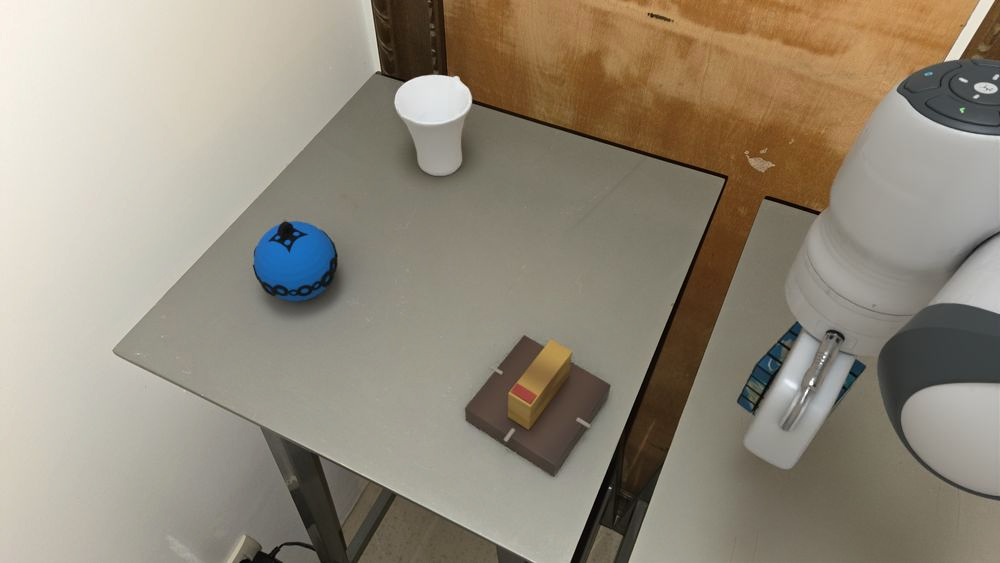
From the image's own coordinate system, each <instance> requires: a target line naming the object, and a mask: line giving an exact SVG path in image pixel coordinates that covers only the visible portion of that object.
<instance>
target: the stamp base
mask: <svg viewBox="0 0 1000 563" xmlns="http://www.w3.org/2000/svg"><path fill="white" fill-rule="evenodd" d="M544 347H545V345H543V344H541V343H539V342H538V341H536V340H534V339H532V338H530V337H528V336H527V335H525V334H523V336H522V337H521V338H520V339H519V340H518V341H517V343H515V345H514V347H513V348H512V349H511V350H510V352H509V353H508V354H507V355H506V357H505V358H504V359H503V360H502V362H500V364H499V365H498V366H497V367H496V366H494V365H492V364H491V365H490V366H489V369H490V370H491V371H493V373H492V374H491V375H490V376H489V378H488V379H487V380H486V381H485V383H484V384H483V385H482V386H481V388H479V390H478V391H477V392H476V394H475V395H474V396H473V397H472V398H471V400H470V401H469V403H467V405H466V406H465V407H464V415H465V416H464V417H465V422H468V423H469V424H470V425H472V426H474V427H476V428H477V429H479V430H480V431H481V432H483V433H485V434H487V435H488V436H489V437H491V438H492V439H494V440H496V442H497V441H498V442H499V443H501V444H502V445H503V446H505V447H506V448H508V449H509V450H511V451H513V452H514V453H516V454H517V455H519V456H521V457H522V458H524V459H525V460H526V461H528V462H530V463H531V464H533V465H534V466H536V467H538V468H539V469H541V470H542V471H544V472H545V473H547V474H549V475H550V476H551V477H555V475H557V473H558V471H559V470H560V469H561V467H562V465H563V464H564V463H565V461H566V459H568V456H569V455H570V454H571V452H572V451H573V449H574V448H575V447H576V446H577V444H578V442H579V441H580V439H581V438H582V436H583V435H584V433H585V432H586V430H587V429H590V428H591V427H592V425H591V423H592V422H593V420H594V419H595V417H596V416H597V414H598V413H599V412H600V410H601V409H602V407H603V406H604V404H605V403H606V401H607V400H608V398H609V395H610V391H611V387H612V385H611V383H608V381H605V380H603V379H601V378H599V377H598V376H596V375H595V374H593V373H591V372H589V371H587V370H586V369H584V368H582V367H581V366H579V365H577V364H576V363H575V362H572V361H571V365H570V371H569V377H568V378H567V379H566V381H565V382H564V383H563V385H562V386H561V387H560V389H559V390H558V391H557V393H556V394H555V395H554V397H553V398H552V399H551V401H550V402H549V404H548V405H547V406H546V408H545V409H544V410H543V412H542V413H541V414H540V416H539V417H538V418H537V420H536V421H535V422H534V424H533V425H532V426H531V428H530V429H529V430H528V429H526V428H525V427H523V426H522V425H520V424H519V423H517V422H515V421H514V420H512V419H511V418H509V417H508V393H509V392H510V390H511V389H512V388H513V387H514V385H515V384H516V383H517V381H518V380H519V379H520V378H521V376H522V375H523V374H524V373H525V371H526V370H527V369H528V367H529V366H530V365H531V364H532V362H533V361H534V360H535V359H536V357H537V356H538V355H539V353H540V352H541V351H542V350H543V348H544Z"/></svg>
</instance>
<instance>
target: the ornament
mask: <svg viewBox="0 0 1000 563" xmlns="http://www.w3.org/2000/svg"><path fill="white" fill-rule="evenodd" d="M338 257H339V255H338V252H337V248H336V245H335V242H334V241H333V240H332V239H331V237H330V236H329V235H328V234H327V233H326V231H324V230H323V229H320V228H318V227H316V226H315V225H314V224H311V223H309V222H304V221H297V220H295V221H294V220H293V221H285V220H284V221H282V222H281V223H279V224H277V225H275V226H272V227H271V228H270V229H269V230H267V231H266V232H265V233H264V235H262V237H261V238H260V239H259V241H258V243H257V245H256V246H255V248H254V250H253V264H252V269H253V272H254V276H255V279H256V280H257V281H258V283H259V284H260V286H261V288H262V289H263V290H264V291H265V292H266V294H268V295H270V296H271V297H277V298H278V299H281V300H285V301H289V302H301V301H307V300H310V299H312V298H314V297H317V296H318V295H320V294H321V293H322V292H324V291H325V290H326V289H327V288H328V287H329V286H330V285H331V284H332V283H333V280H334V277H335V273H336V271H337V268H338Z"/></svg>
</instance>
